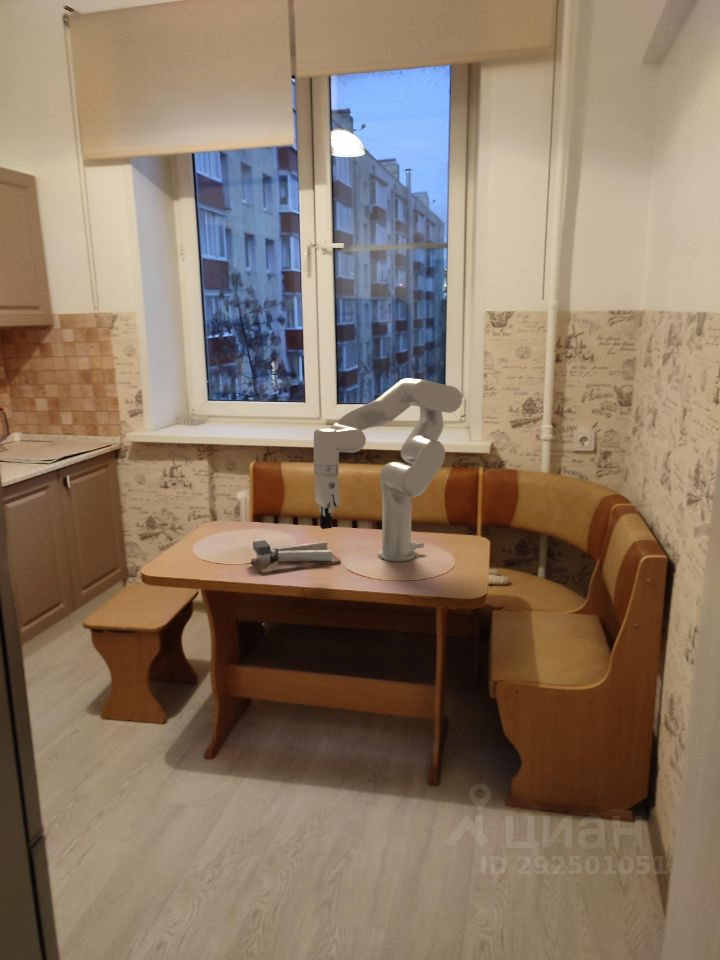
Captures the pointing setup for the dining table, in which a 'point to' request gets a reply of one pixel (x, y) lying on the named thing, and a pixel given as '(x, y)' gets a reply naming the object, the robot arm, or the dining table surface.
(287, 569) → the cutting board
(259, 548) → the lock slider
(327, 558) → the grey rectangular bar
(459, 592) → the dining table surface
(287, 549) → the tongs frame
